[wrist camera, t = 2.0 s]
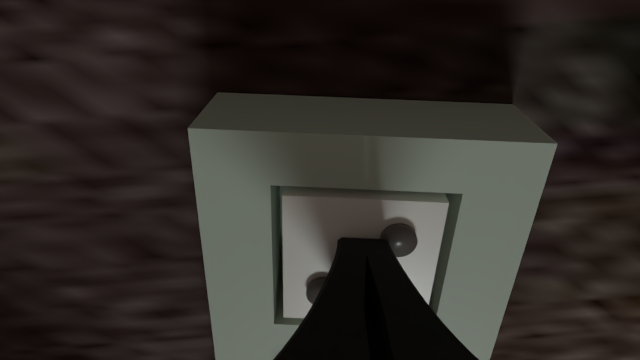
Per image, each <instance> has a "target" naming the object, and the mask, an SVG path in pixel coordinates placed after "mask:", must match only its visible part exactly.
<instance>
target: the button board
mask: <svg viewBox="0 0 640 360" xmlns="http://www.w3.org/2000/svg"><path fill="white" fill-rule="evenodd" d="M188 135H189V144H190V152H191V160H192V168H193V177H194V185H195V193H196V201H197V210H198V218H199V226H200V234H201V243H202V251H203V259H204V267H205V276H206V284H207V292H208V300H209V309H210V317H211V325H212V333H213V342H214V350H215V358H216V360H273V359H274V358H275V357H276V356H277V354H278V353H279V352H280V351H281V350H282V348H283V347H284V346H285V344H286V343H287V342H288V340H289V339H290V338H291V336H292V335H293V334H294V332H295V331H296V330H297V328H298V327H299V325H300V324H301V322H302V321H303V319H304V318H287V317H284V316H283V237H282V193H283V189H284V186H297V187H320V188H343V189H366V190H388V191H411V192H434V193H445V195H446V197H447V199H448V201H449V206H448V211H447V216H446V221H445V226H444V231H443V236H442V241H441V246H440V251H439V256H438V261H437V266H436V271H435V276H434V281H433V286H432V291H431V296H430V301H429V306H430V307H431V309H432V310H433V311H434V312H435V314H436V315H437V316H438V317H439V318H440V320H441V321H442V322H443V323H444V324H445V325H446V327H447V328H448V329H449V330H450V331H451V332H452V333H453V334H454V335H455V336H456V337H457V338H458V340H459V341H460V342H461V343H462V344H463V345H464V346H465V347H466V348H467V349H468V350H469V351H470V352H471V353H472V354H474V355H475V356H476V357H477V358H478V359H479V360H490V357H491V354H492V350H493V347H494V344H495V341H496V338H497V335H498V331H499V328H500V325H501V322H502V319H503V315H504V312H505V309H506V306H507V303H508V300H509V296H510V293H511V290H512V287H513V284H514V280H515V277H516V274H517V271H518V268H519V265H520V261H521V258H522V255H523V252H524V249H525V245H526V242H527V239H528V236H529V233H530V229H531V226H532V223H533V220H534V217H535V214H536V210H537V207H538V204H539V201H540V198H541V194H542V191H543V188H544V185H545V182H546V179H547V175H548V172H549V169H550V166H551V163H552V159H553V156H554V153H555V150H556V147H557V143H556V142H555V141H554V140H553V139H552V138H550V137H549V136H548V135H547V134H546V133H545V132H544V131H543V130H541V129H540V128H539V127H538V126H537V125H536V124H535V123H534V122H532V121H531V120H530V119H529V118H528V117H527V116H526V115H525V114H523V113H522V112H521V111H520V110H519V109H518V108H517V107H516V106H514V105H513V104H493V103H468V102H444V101H419V100H394V99H369V98H345V97H320V96H295V95H270V94H246V93H221V92H217V93H216V95H215V96H214V97H213V98H212V99H211V101H210V102H209V103H208V104H207V106H206V107H205V108H204V109H203V110H202V112H201V113H200V114H199V115H198V116H197V118H196V119H195V120H194V121H193V122H192V124H191V125H190V126H189V127H188Z"/></svg>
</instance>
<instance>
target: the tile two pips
mask: <svg viewBox="0 0 640 360" xmlns="http://www.w3.org/2000/svg"><path fill="white" fill-rule="evenodd" d="M448 206H449V201H448V199H447V197H446V195H445V193H434V192H411V191H388V190H366V189H343V188H320V187H297V186H284V189H283V193H282V237H283V316H284V317H287V318H305V316H306V315H307V313H308V311H309V310H310V308H311V306H312V305H313V303H314V301H315V299H316V297H317V295H318V294H319V292H320V290H321V288H322V286H323V284H324V282H325V279H326V277H327V275H328V273H329V270H330V268H331V265H332V263H333V260H334V257H335V253H336V249H337V240H339V239H340V238H341V237H348V238H369V239H381V240H386V241H387V242H388V243H389V245H390V247H391V249H392V251H393V252H394V254H395V256H396V258H397V259H398V261H399V263H400V264H401V266H402V268H403V269H404V271H405V272H406V274H407V275H408V277H409V278H410V280H411V281H412V283H413V284H414V286H415V287H416V288H417V290H418V291H419V293H420V294H421V296H422V297H423V298H424V300H425V301H426V302H427V303H428V305H429V301H430V296H431V291H432V286H433V281H434V276H435V271H436V266H437V261H438V256H439V251H440V246H441V241H442V236H443V231H444V226H445V221H446V216H447V211H448Z"/></svg>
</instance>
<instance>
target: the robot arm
mask: <svg viewBox="0 0 640 360" xmlns="http://www.w3.org/2000/svg"><path fill="white" fill-rule="evenodd" d="M273 360H479V359H478V358H477V357H476V356H475V355H474V354H472V353H471V352H470V351H469V350H468V349H467V348H466V347H465V346H464V345H463V344H462V343H461V342H460V341H459V340H458V338H457V337H456V336H455V335H454V334H453V333H452V332H451V331H450V330H449V329H448V328H447V327H446V325H445V324H444V323H443V322H442V321H441V320H440V318H439V317H438V316H437V315H436V314H435V312H434V311H433V310H432V309H431V307H430V306H429V305H428V303H427V302H426V301H425V300H424V298H423V297H422V296H421V294H420V293H419V291H418V290H417V288H416V287H415V286H414V284H413V283H412V281H411V280H410V278H409V277H408V275H407V274H406V272H405V271H404V269H403V268H402V266H401V264H400V263H399V261H398V259H397V258H396V256H395V254H394V252H393V251H392V249H391V247H390V245H389V243H388V242H387V241H386V240H381V239H369V238H348V237H341V238H340V239H339V240H337V249H336V253H335V257H334V260H333V263H332V265H331V268H330V270H329V273H328V275H327V277H326V279H325V282H324V284H323V286H322V288H321V290H320V292H319V294H318V295H317V297H316V299H315V301H314V303H313V305H312V306H311V308H310V310H309V311H308V313H307V315H306V316H305V318H304V319H303V321H302V322H301V324H300V325H299V327H298V328H297V330H296V331H295V332H294V334H293V335H292V336H291V338H290V339H289V340H288V342H287V343H286V344H285V346H284V347H283V348H282V350H281V351H280V352H279V353H278V354H277V356H276V357H275V358H274V359H273Z"/></svg>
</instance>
